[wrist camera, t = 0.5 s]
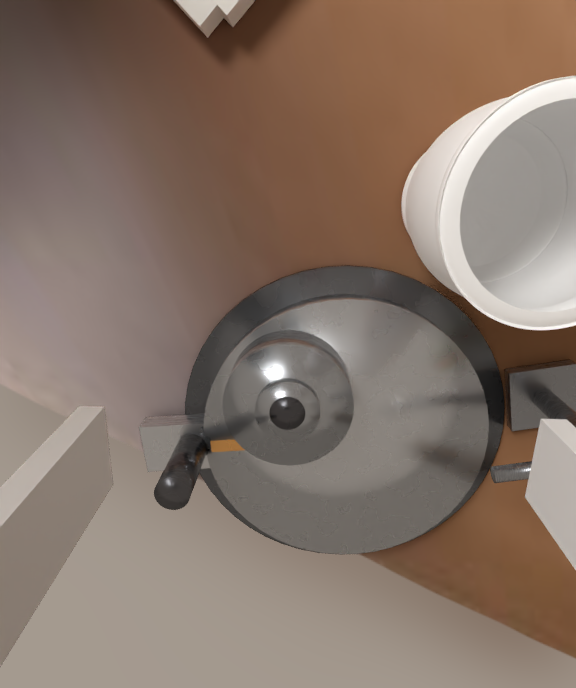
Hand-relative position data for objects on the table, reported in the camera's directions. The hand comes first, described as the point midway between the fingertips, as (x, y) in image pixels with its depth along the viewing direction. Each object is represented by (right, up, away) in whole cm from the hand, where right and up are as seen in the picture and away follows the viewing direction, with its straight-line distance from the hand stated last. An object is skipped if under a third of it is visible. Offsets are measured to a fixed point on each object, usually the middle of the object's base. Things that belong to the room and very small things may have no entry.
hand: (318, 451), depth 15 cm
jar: (+11, +14, +20) cm, 27 cm away
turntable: (+2, -4, +25) cm, 26 cm away
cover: (-1, 0, +22) cm, 22 cm away
